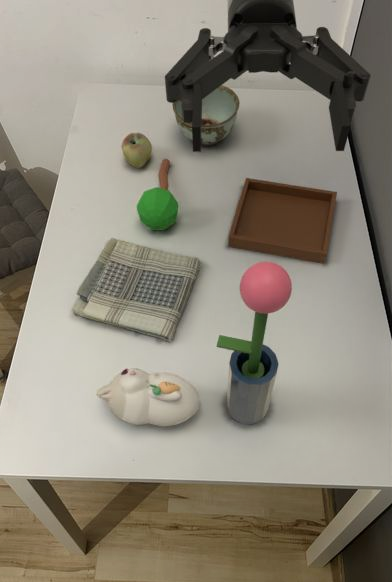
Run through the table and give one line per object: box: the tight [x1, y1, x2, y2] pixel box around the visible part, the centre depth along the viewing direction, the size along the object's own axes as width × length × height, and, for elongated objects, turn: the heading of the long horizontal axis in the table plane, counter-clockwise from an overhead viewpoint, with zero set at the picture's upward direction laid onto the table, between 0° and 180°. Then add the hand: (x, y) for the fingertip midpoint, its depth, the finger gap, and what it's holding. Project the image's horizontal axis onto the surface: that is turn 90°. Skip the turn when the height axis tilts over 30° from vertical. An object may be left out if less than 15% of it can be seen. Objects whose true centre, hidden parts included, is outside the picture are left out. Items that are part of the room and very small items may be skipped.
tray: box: [227, 177, 338, 264], centre depth 93 cm, size 18×16×3 cm
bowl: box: [171, 84, 240, 147], centre depth 104 cm, size 14×13×8 cm
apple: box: [121, 132, 153, 169], centre depth 102 cm, size 6×8×6 cm
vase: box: [226, 344, 279, 425], centre depth 70 cm, size 6×6×14 cm
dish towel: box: [72, 237, 202, 342], centre depth 86 cm, size 19×18×3 cm
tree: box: [136, 157, 180, 231], centre depth 96 cm, size 8×8×20 cm
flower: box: [216, 261, 293, 379], centre depth 62 cm, size 7×5×32 cm
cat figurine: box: [96, 368, 201, 427], centre depth 73 cm, size 10×8×15 cm
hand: (269, 139), depth 46 cm, fingers open, 13 cm apart
